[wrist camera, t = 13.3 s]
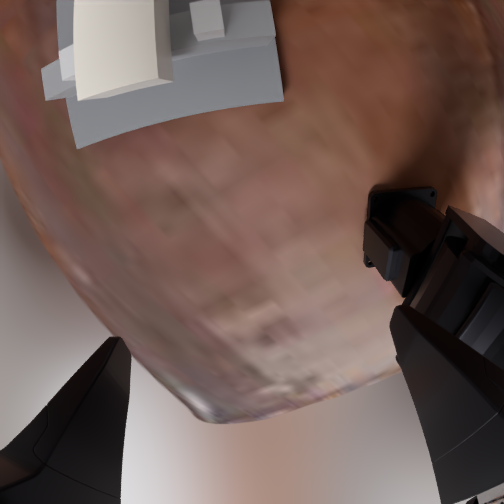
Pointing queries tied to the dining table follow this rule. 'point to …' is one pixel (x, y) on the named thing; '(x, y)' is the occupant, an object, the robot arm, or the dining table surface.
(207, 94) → the grey pegged plate
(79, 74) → the clay strip
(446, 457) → the robot arm
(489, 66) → the dining table surface
